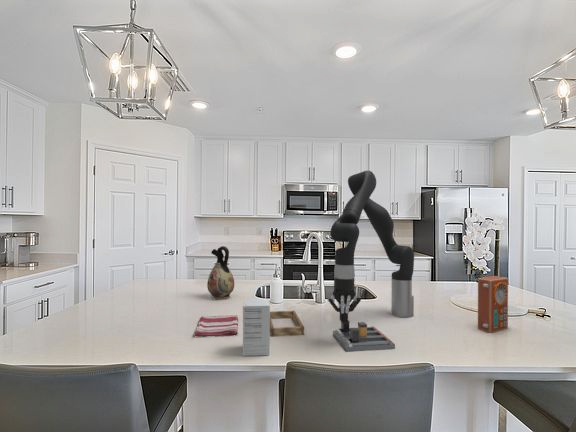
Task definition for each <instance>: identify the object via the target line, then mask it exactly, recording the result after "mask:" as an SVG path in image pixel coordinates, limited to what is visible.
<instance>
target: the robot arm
mask: <svg viewBox="0 0 576 432" xmlns="http://www.w3.org/2000/svg"><path fill="white" fill-rule="evenodd" d="M347 178H348V179H347V184H348V188H349V190H350V192H351V193H352V195H353V196H352V197H351V198H350V199H349V200H348V201H347V203H345V207H344V209H343V211H342V214H341V215H340V216H339V217H338V218H337V219H336V220H335V221H334V222H333V224H332V226H331V228H330V232H329V233H330V234H329V235H330V238H331V239H332V241H334V242H338V243H339V242H342V243H347V244H346V246H345V247H340V248H337V249H335V254H334V269H333V270H334V271H333V274H334V275H333V291H332V295H331V296H330V297H329V296H328V297H327V298H326V299H327V301H328V303H329V304H330V305H331V307H332V308H333V309H334V310H335V312H337V313H339V321H340V323H341V322H342V323H347V322H348V320H349V313H350V312H353V311H354V310H355V309H356V308H357V306H358V305H359V303H360V302H361V301H362V299H361V297H359V296H357V295H356V292H355V277H356V276H355V275H356V274H355V251H356V247H357V243H358V240H359V236H360V229H359V227H358V224H359V221H360V219H361V216H362V213H363V211H364V213H365V215H366V217H367V218H368V221H369V222H370V224H371V226H372V228H373V229H374V231H375V233H376V235H377V236H378V238H379V240H380V242H381V245H382V246H383V248H384V251H385V254H386V256H387V258H388V260H389V261H390V262H391V263H392V264H395V265H399V268H398V270H394V271H393V272H392V273H391V309H390V310H391V315H392V316H394V317H398V318H411V317H414V316H415V315H414V314H415V312H414V311H415V309H414V308H415V307H414V305H415V304H414V302H415V301H414V295H413V274H414V266H415V252H414V250H413V247H411V246H409V245H401V244H398V243H397V242H396V240H395V238H394V235H393V233H394V230H395V229H394V227H395V226H394V221H393V218H392V217H391V214H390V213H389V212H388V210H387V209H386V208H385V207H384V206H382V205H381V204H379V203H377V202H376V201H374V200H373V199H371V196H372V194H373V193H374V191H375V189H376V187H377V178H376V176H375V174H374V173H373V171H371V170H363V171H360V172H359V173H356V174H355V173H354V174H352V175H350V176H349V177H347ZM335 301H336V302H337V303H338V305H336V303H335Z"/></svg>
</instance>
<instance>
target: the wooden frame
mask: <svg viewBox="0 0 576 432" xmlns="http://www.w3.org/2000/svg"><path fill="white" fill-rule="evenodd" d="M272 319H293V321H294V323H295V325H296V326H284V327H274V324H273V320H272ZM270 332H271V333H270V335H271V337H286V336H285V335H290V336H305V326H304V324H303V323H302V321H301V320H300V317H299V316H298V314H297V313H296V311H295V310H279V311H278V310H274V311H272V310H271V311H270Z"/></svg>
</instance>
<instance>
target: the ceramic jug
mask: <svg viewBox="0 0 576 432" xmlns="http://www.w3.org/2000/svg"><path fill="white" fill-rule="evenodd" d="M223 251H224V253H223ZM210 253H211V255H213V256H215V257H216V263H215V264H214V266H213V268H212V269H211V271H210V273H209V275H208V278H207V283H206V285H207V291H208V292H209V294H211V296H212V297H213V299H214V298H215V299H214V300H226V299H229V298H231V294H232V292H233V291H234V289H235V278H234V275H233V273H232V271H231V270H230V268H229V267H228V262H229V258H230V257H229V256H230V250H229V248H228V247H227V246H224V245H223V246H222V245H221V246H219V247H218V248H217V249H216V248H214V249H212V250H211V252H210Z"/></svg>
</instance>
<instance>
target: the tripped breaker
mask: <svg viewBox="0 0 576 432" xmlns="http://www.w3.org/2000/svg"><path fill="white" fill-rule="evenodd" d="M367 327H368V324H367V323H366V322H364V321H359V322H357V328H358V330H359V336H367Z"/></svg>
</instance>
